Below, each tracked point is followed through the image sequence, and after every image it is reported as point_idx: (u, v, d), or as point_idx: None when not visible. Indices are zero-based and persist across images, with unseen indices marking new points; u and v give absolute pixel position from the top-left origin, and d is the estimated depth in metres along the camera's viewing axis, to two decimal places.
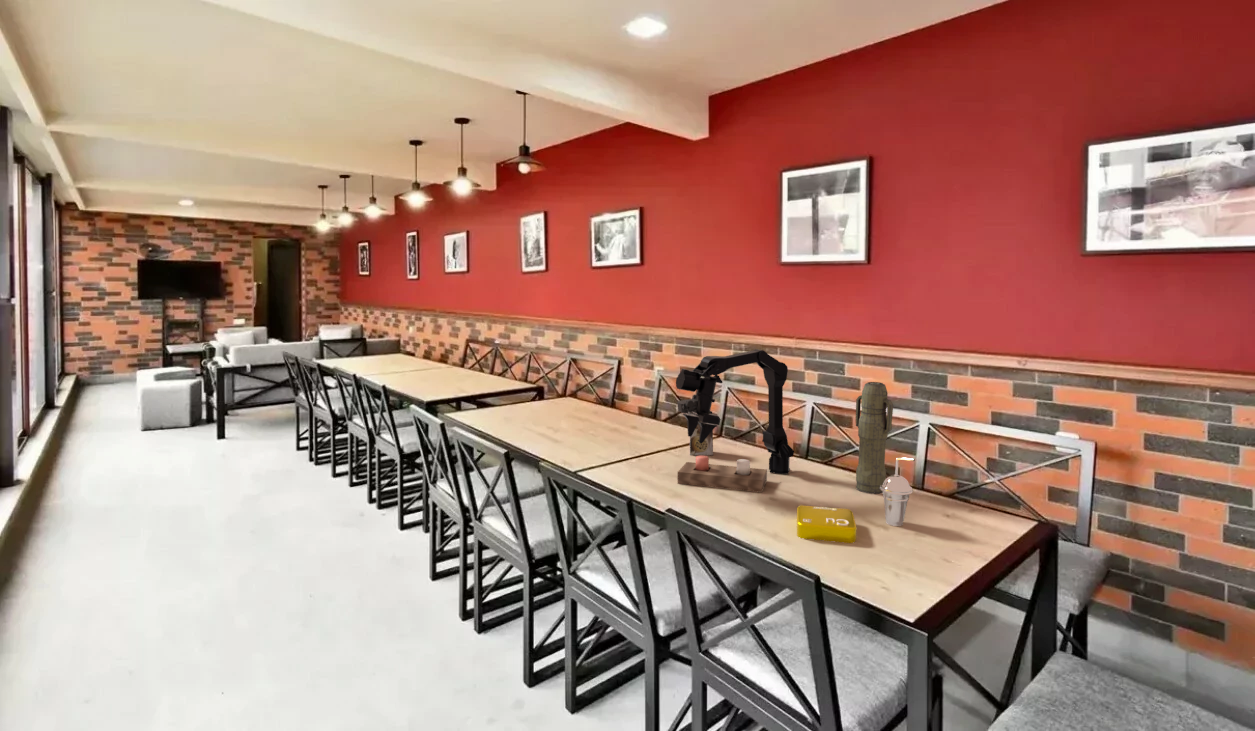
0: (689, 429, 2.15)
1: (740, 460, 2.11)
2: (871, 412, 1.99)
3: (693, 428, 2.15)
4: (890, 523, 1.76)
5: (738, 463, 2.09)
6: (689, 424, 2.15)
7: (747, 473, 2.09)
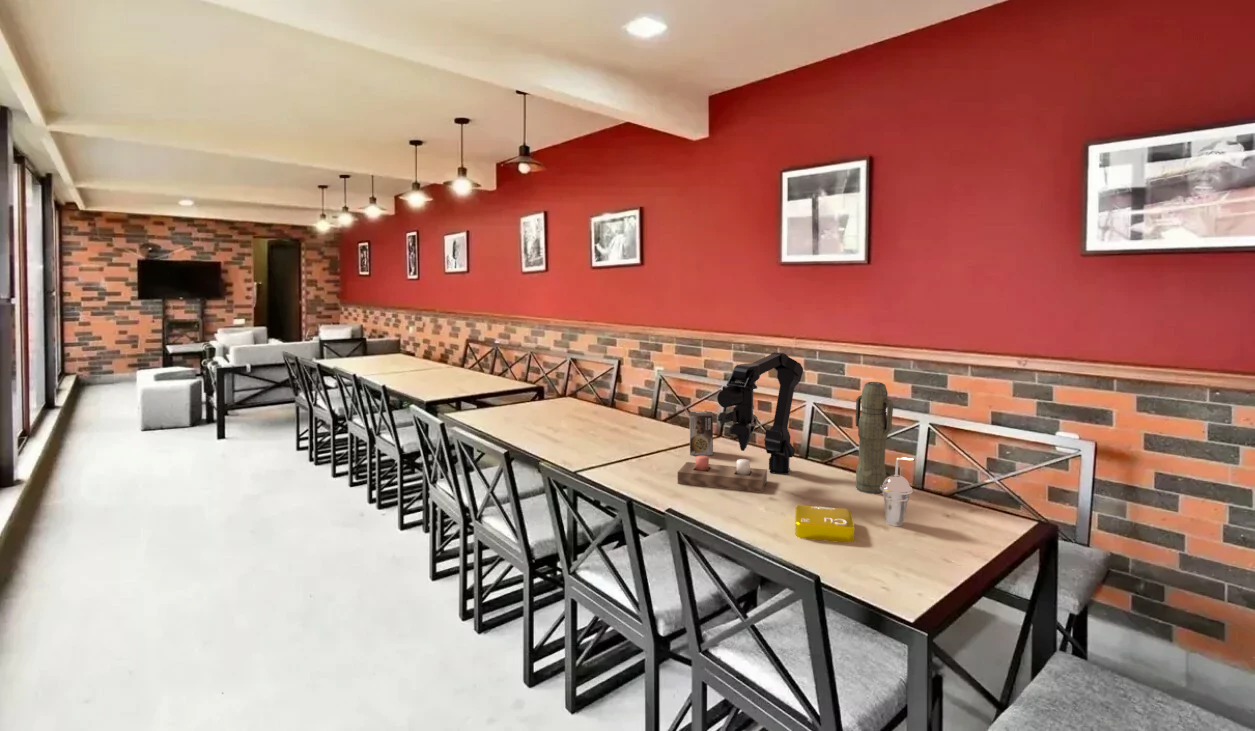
0: None
1: (740, 460, 2.11)
2: (871, 412, 1.99)
3: None
4: (890, 523, 1.76)
5: (738, 463, 2.09)
6: None
7: (747, 473, 2.09)
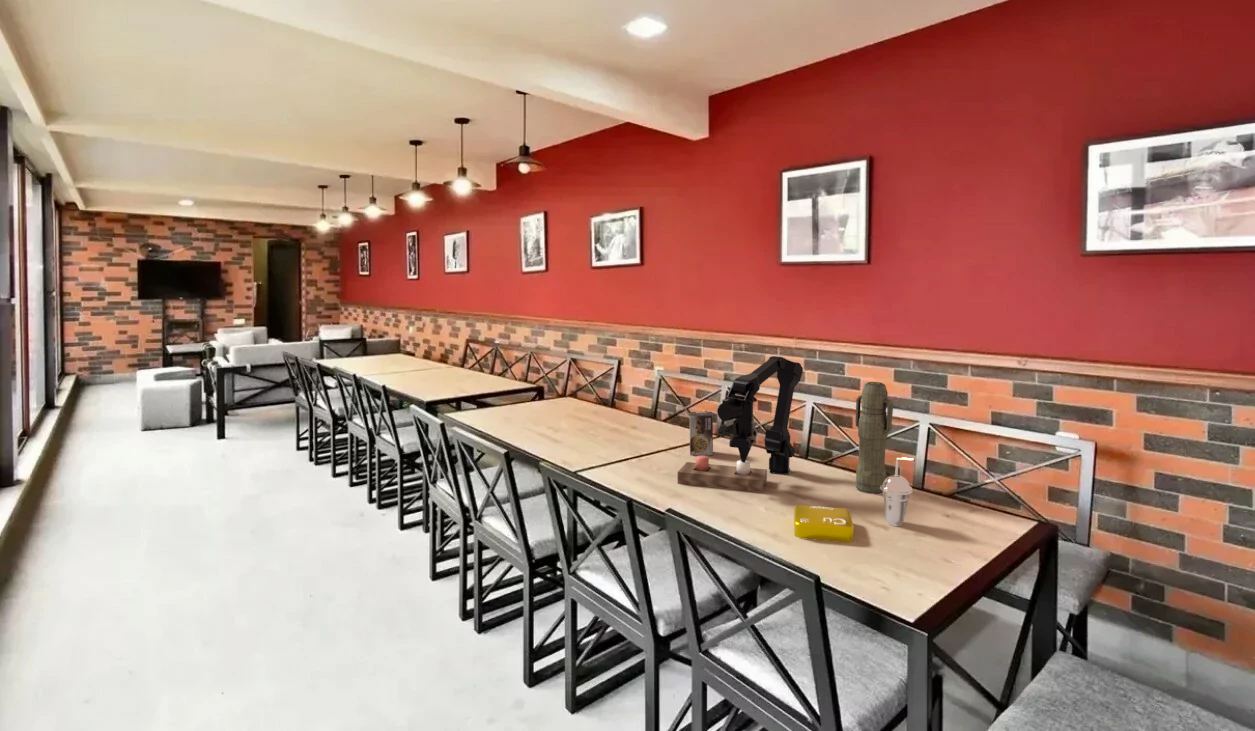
0: None
1: (740, 461, 2.11)
2: (871, 412, 1.99)
3: None
4: (890, 523, 1.76)
5: (738, 464, 2.09)
6: None
7: (747, 474, 2.09)
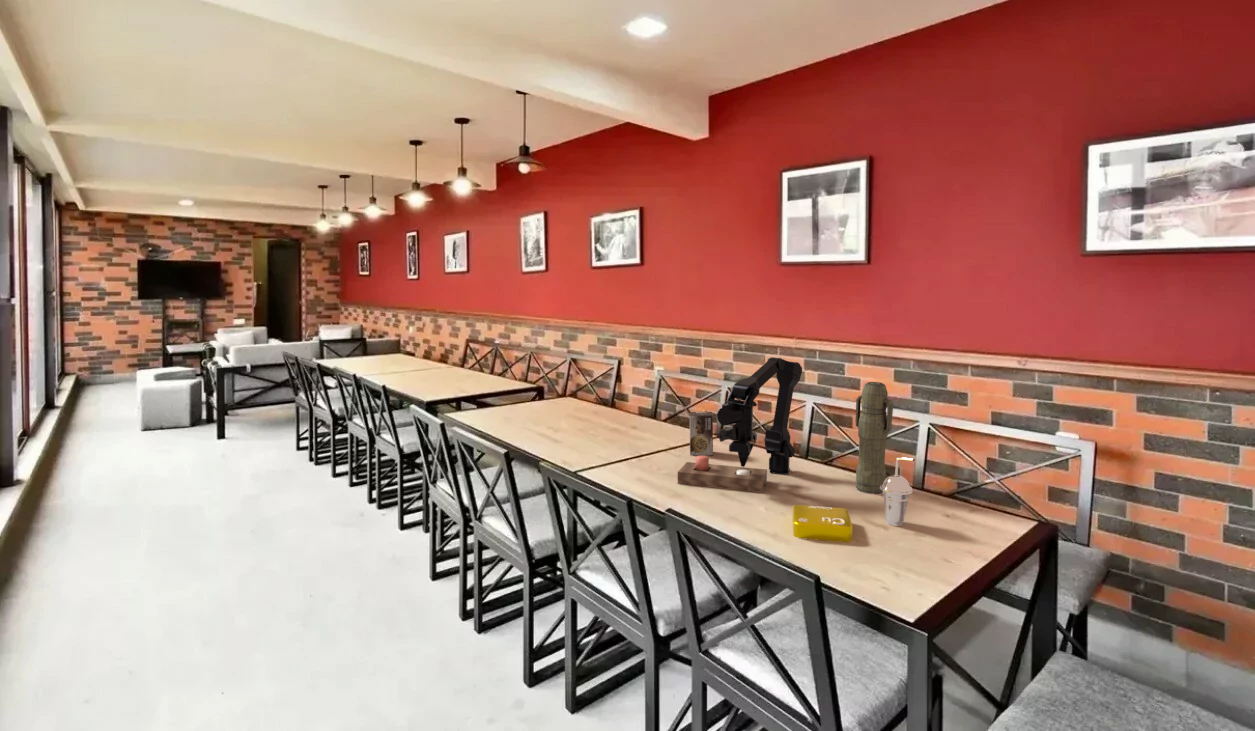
0: None
1: (740, 470, 2.12)
2: (871, 412, 1.99)
3: None
4: (890, 523, 1.76)
5: (738, 473, 2.10)
6: None
7: None
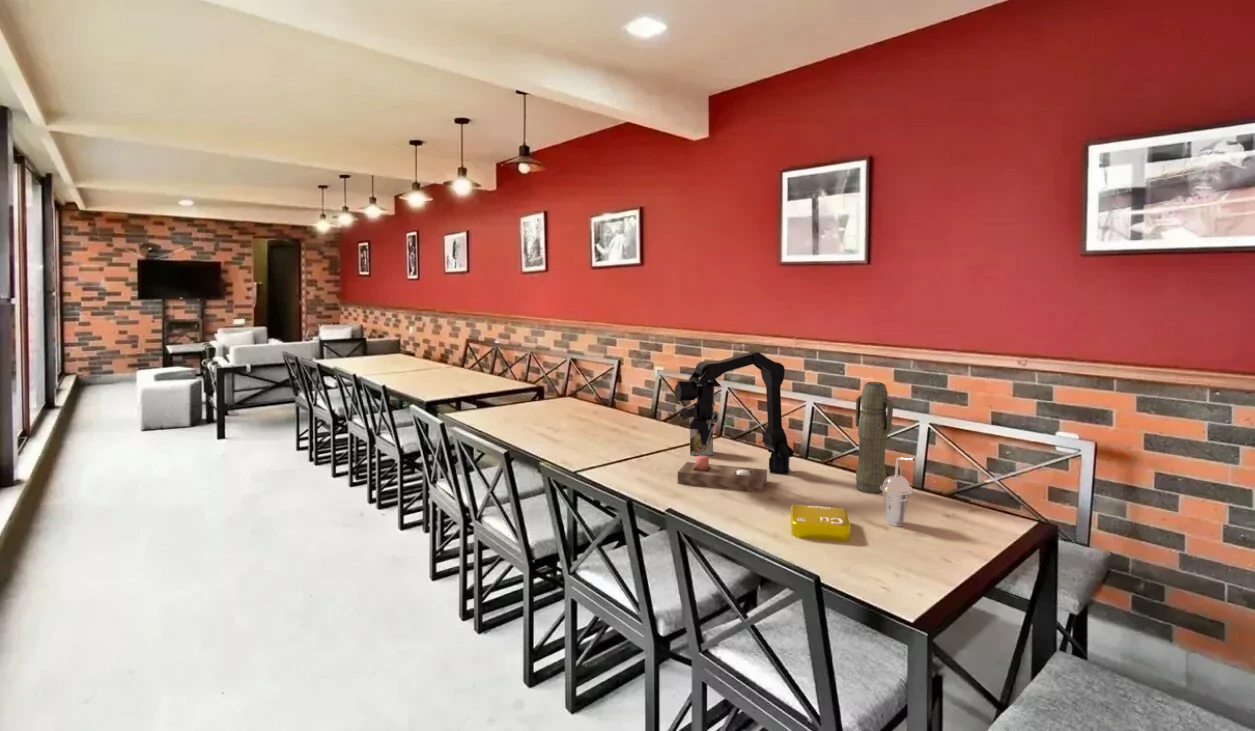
0: None
1: (740, 470, 2.12)
2: (871, 412, 1.99)
3: None
4: (890, 523, 1.76)
5: (738, 473, 2.10)
6: None
7: None
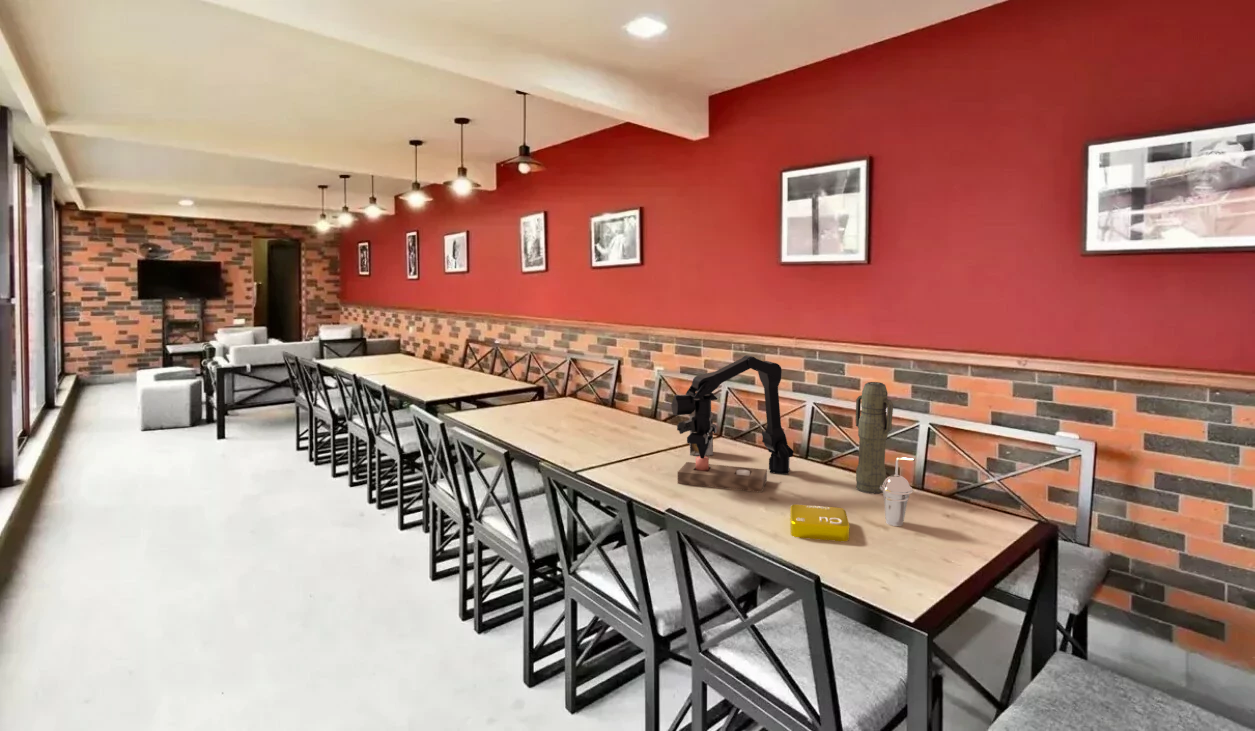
0: None
1: (740, 470, 2.12)
2: (871, 412, 1.99)
3: None
4: (890, 523, 1.76)
5: (738, 473, 2.10)
6: None
7: None
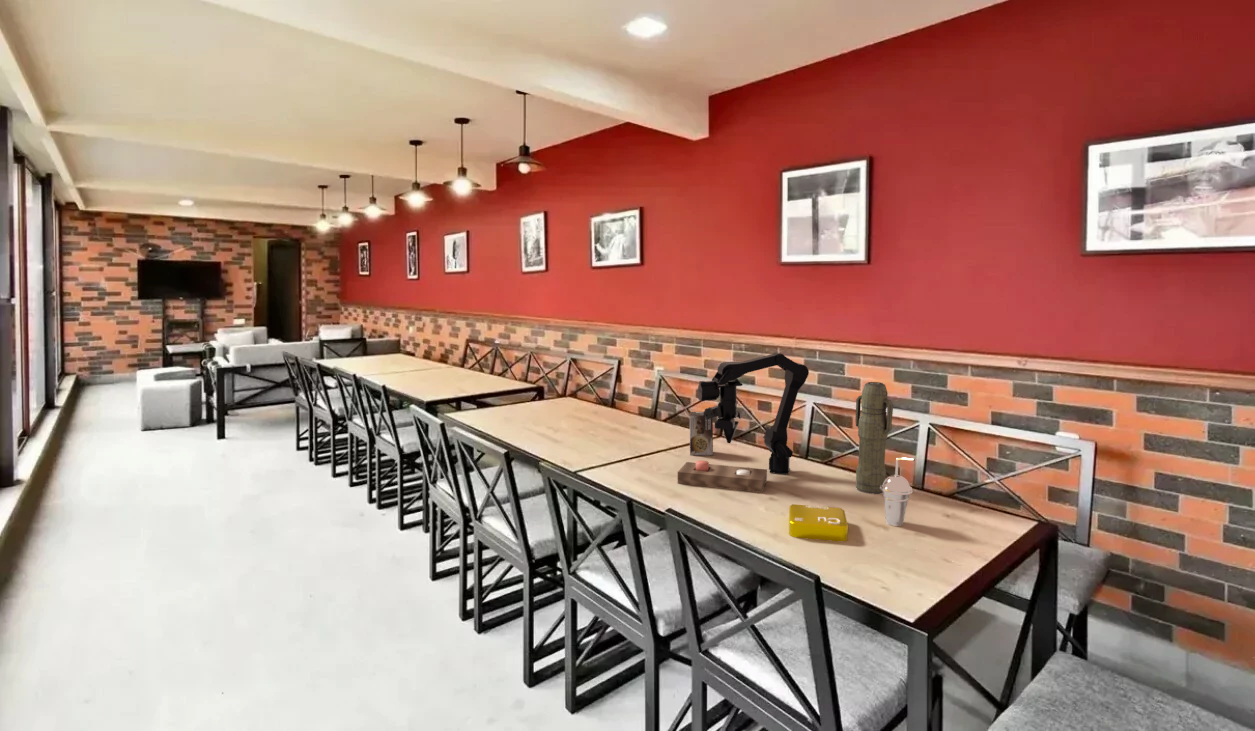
0: None
1: (740, 470, 2.12)
2: (871, 412, 1.99)
3: None
4: (890, 523, 1.76)
5: (738, 473, 2.10)
6: None
7: None
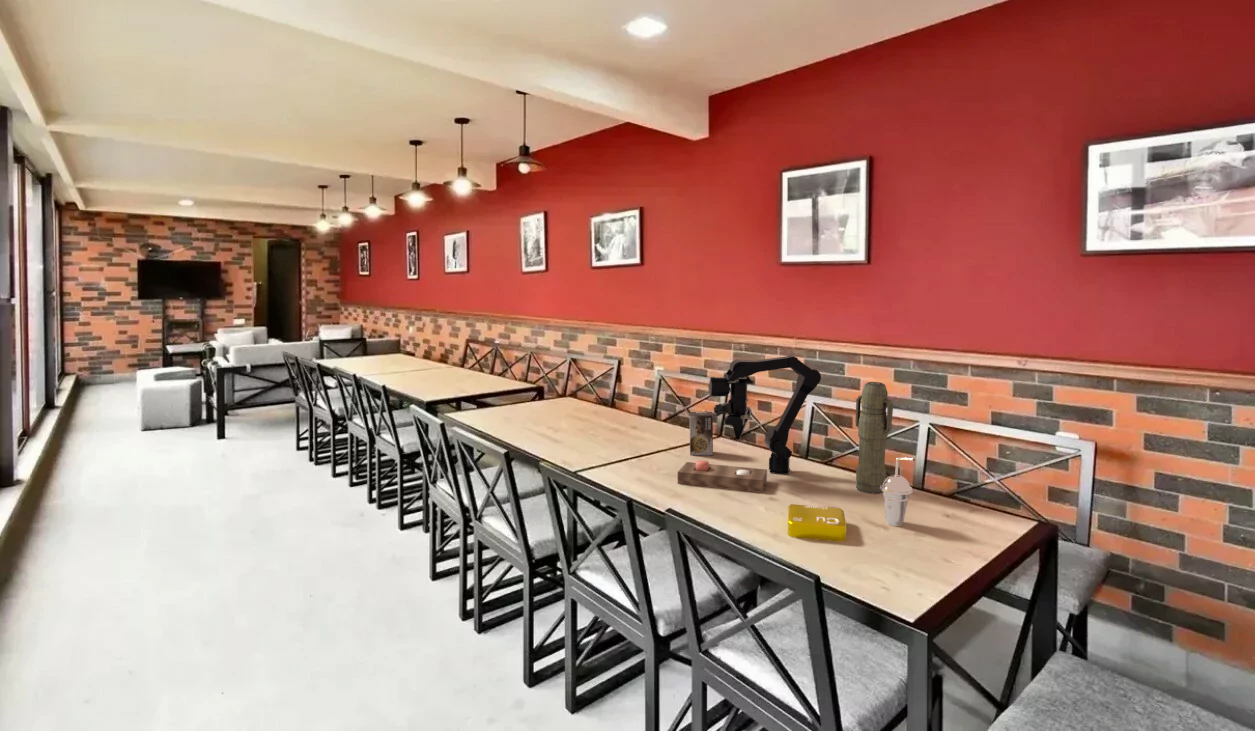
0: None
1: (740, 470, 2.12)
2: (871, 412, 1.99)
3: None
4: (890, 523, 1.76)
5: (738, 473, 2.10)
6: None
7: None
